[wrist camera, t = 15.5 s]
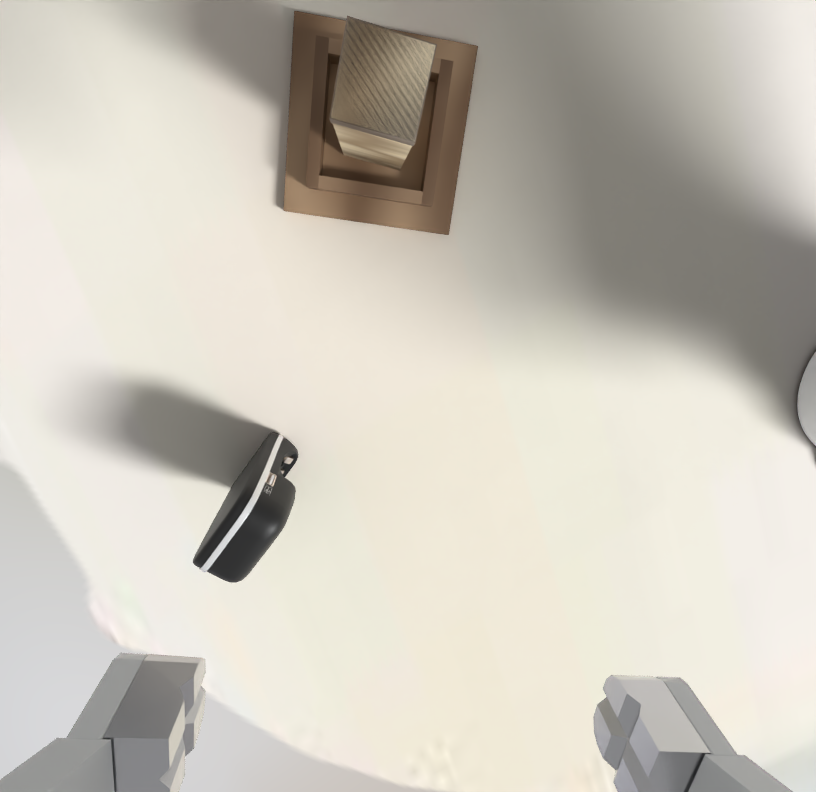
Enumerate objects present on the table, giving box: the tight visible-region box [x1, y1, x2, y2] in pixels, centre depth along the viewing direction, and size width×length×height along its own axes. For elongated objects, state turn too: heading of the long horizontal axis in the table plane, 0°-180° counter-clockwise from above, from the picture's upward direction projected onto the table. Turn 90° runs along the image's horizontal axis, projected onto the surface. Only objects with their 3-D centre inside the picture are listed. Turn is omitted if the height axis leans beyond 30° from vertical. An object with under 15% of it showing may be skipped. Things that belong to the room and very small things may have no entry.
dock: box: [284, 11, 478, 235], centre depth 33 cm, size 12×12×3 cm
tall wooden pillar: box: [329, 16, 437, 170], centre depth 28 cm, size 4×4×12 cm
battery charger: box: [193, 432, 298, 582], centre depth 37 cm, size 7×4×11 cm, turn 143°
